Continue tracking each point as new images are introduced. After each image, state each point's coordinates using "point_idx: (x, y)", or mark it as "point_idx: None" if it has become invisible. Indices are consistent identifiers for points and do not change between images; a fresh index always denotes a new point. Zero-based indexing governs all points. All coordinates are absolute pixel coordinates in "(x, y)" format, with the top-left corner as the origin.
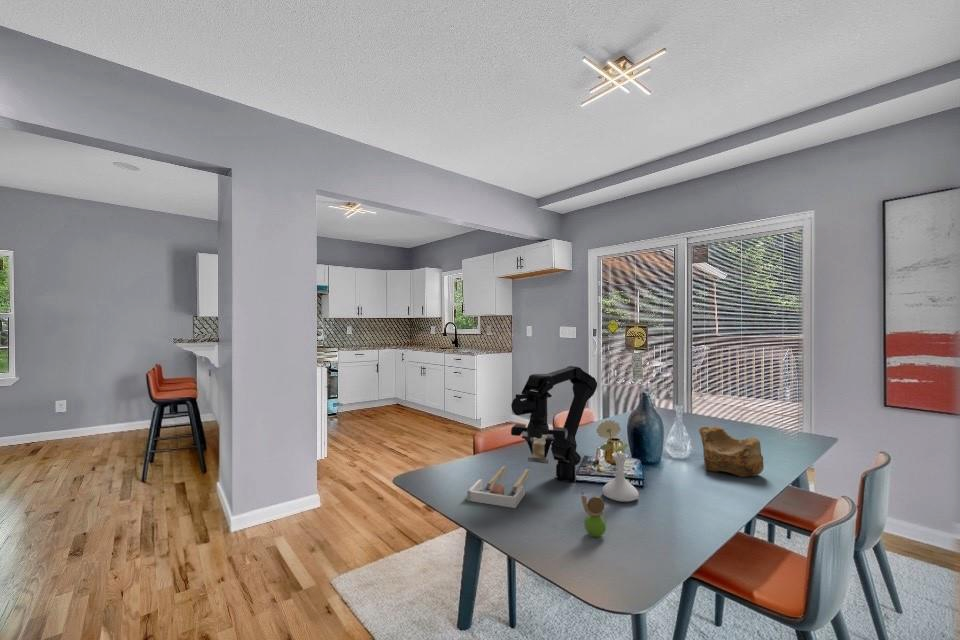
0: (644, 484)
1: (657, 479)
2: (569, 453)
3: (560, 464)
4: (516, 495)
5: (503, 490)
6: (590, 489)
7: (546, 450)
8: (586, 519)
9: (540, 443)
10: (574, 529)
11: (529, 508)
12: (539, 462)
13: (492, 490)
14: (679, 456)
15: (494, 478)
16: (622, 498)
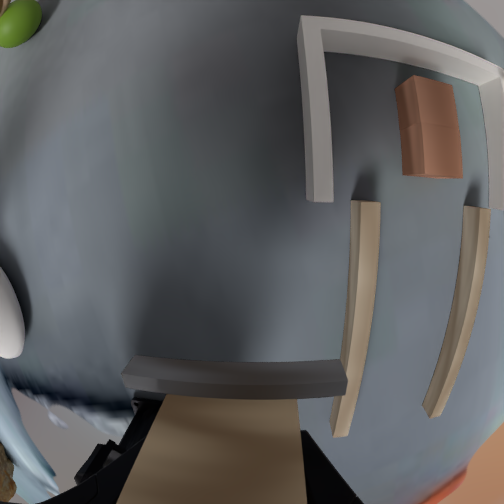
0: (10, 393)
1: (12, 417)
2: (85, 476)
3: None
4: (309, 43)
5: (411, 159)
6: (68, 347)
7: (122, 466)
8: (23, 3)
9: None
10: (70, 19)
11: (234, 55)
12: (215, 361)
13: (443, 86)
14: (53, 493)
15: (474, 277)
16: None
